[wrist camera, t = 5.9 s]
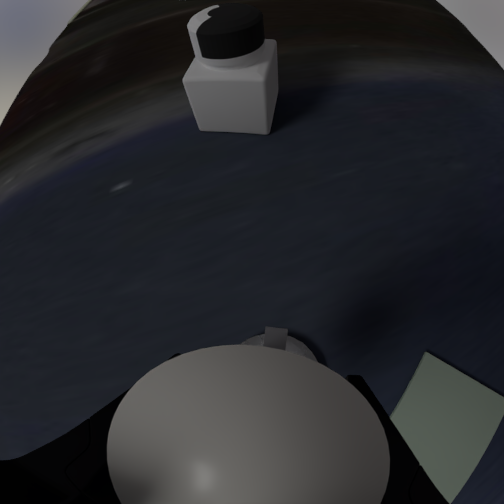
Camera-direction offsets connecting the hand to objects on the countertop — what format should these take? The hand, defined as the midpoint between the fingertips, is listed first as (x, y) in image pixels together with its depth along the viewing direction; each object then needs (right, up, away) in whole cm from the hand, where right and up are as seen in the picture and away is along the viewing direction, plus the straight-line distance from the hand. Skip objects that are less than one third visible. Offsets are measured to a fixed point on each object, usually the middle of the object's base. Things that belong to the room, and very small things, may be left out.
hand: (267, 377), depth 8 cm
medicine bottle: (-2, +18, +21) cm, 28 cm away
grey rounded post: (0, -3, +6) cm, 7 cm away
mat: (+15, -12, +9) cm, 21 cm away
